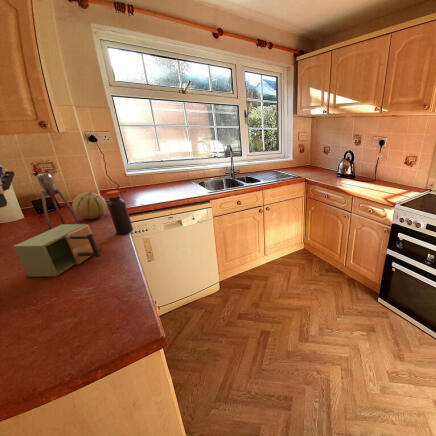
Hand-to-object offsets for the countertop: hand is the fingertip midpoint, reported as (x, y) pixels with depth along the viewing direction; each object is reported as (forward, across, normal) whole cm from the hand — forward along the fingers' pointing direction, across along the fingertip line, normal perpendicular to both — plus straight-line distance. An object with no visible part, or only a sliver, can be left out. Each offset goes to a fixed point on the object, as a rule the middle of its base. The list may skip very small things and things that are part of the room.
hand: (1, 206), depth 71 cm
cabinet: (+27, -13, -2) cm, 30 cm away
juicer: (+27, -37, -24) cm, 52 cm away
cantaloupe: (+27, -59, -28) cm, 71 cm away
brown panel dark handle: (+26, -15, +8) cm, 32 cm away
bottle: (+27, -40, +2) cm, 48 cm away
